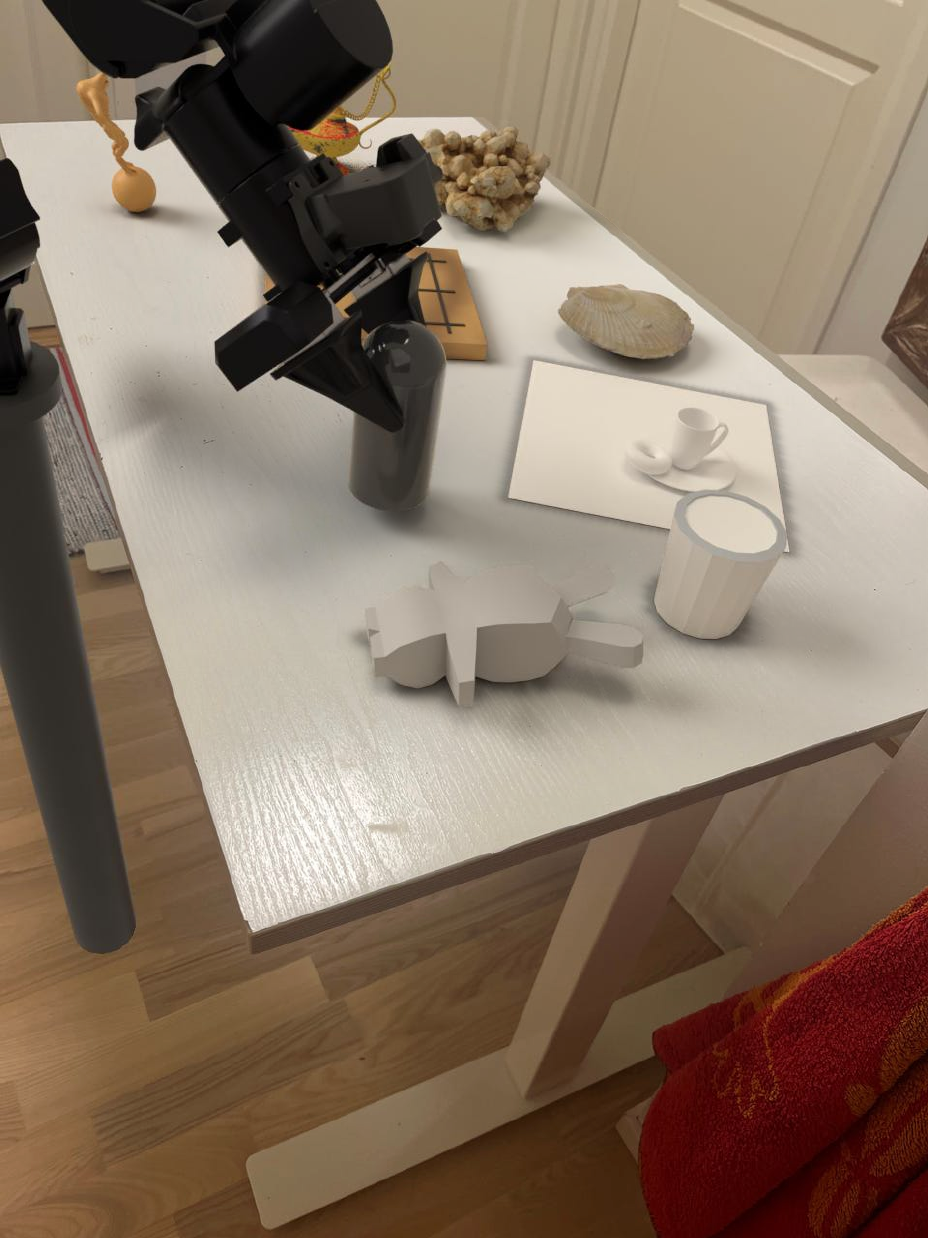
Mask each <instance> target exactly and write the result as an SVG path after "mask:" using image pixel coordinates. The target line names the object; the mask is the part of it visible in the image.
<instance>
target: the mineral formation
mask: <svg viewBox="0 0 928 1238" xmlns="http://www.w3.org/2000/svg"><path fill="white" fill-rule="evenodd" d="M518 136H519V129H518V128H517V126H510V125H508V126H506V127H505V128H503V129H502V131H501V132H500V134H497V133H496V131H493V130H488V129H486V130H485V131H483V132H481V133H480V136H477V135H475V134H470V135H467V136H464V137H462V136H461V134H460V133H459V132H458V131H455V130H450V131H448V132H447V133H446V134H444V133H443V132H442V131H441V129H438V128H429V129H428V130H426V131H425V133H424V135H423V138H421V139H417V138H416V139H417V140H418V141H419V143H420V144H421V145H422V147H423V148H424V149H425V150H426V152H427V153H428V152H430V154H431V158H432V161H433V163H434V165H438V166H439V167H440V168H441V169H442V171H443V178H442V180H441V181H440V182H438V183H437V184H436V186H435V192H436V195H437V199H438V203H439V206H443V205H445V210H446V214H447V215H448V216H450V217H460V218H461V220H462V221H463V222H464V223H465V224H470V226H472V227H473V228H475V230H478V231H481V232H485V231H486V230H493V228H494V227H496V228H497V230H499V231H500V232H502V233H506V232H509V231H510V230H511V229H512V228H513V227H514V223H515V222H517V220H518V219H519V217H522V216H523V215H524V214H526V213H527V212H529V211H530V210H531V209H532V207H533V205H534V203H535V197H536V196H538V195H539V191H540V190H541V188H542V186H541V181H542V180H543V178H544V176H545V174H546V172H547V170H548V169H549V167H551V165H552V164H551V157H550V156H549V155H548V154H547V153H545V152H538V151H535V152H534V153H532V152H531V151H530V149H529V144H528V142H527V143H526V142H524V141H522V140H521V141H518V140H517V139H518Z"/></svg>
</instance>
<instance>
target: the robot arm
mask: <svg viewBox="0 0 928 1238" xmlns="http://www.w3.org/2000/svg"><path fill="white" fill-rule="evenodd" d="M41 2H42V4H43V5H44V6H45V8H46V9H47V10H48V12H49V13H50V15H51V16H52V17H53V19H54V20H55V21H56V22H57V23H58V25H59V26H60V28H62V30H63V31H64V33H65V34H66V35H67V36H68V38H69V39H70V40H71V42H72V43H73V44H74V45H75V47H76V48H77V49H78V51H79V52H80V53H81V55H82V56H83V57H84V58H85V59H86V60H87V61H88V62H89V64H90V65H91V66H93V67H94V68H95V69H97V71H99V72H100V73H101V72H102V73H103V74H105V75H107V77H108V78H109V77H110V78H112V79H114V80H115V79H121V80H122V79H127V80H128V79H130V80H131V79H139V78H142V77H144V76H147V75H150V74H152V73H155V72H158V71H161V70H163V69H166V68H169V67H172V66H175V65H177V64H180V63H182V62H186V61H188V60H191V59H193V58H196V57H197V56H199V55H201V54H204V53H207V52H209V51H213V50H215V49H218V48H220V50H221V51H222V53H223V55H224V56H223V57H222V58H221V59H220V60H219V61H218V62H217V63H216V64H214V65H212V64H209V63H194V64H192V65H190V66H187V67H186V68H185V69H184V70H183V72H182V73H180V75H178V76H177V77H176V78H175V80H174V81H173V82H172V83H171V84H170V85H169V86H168V87H167V88H164V87H161V86H154V87H153V88H149V89H148V90H146V91H143V92H140V93H137V94H136V95H135V96H134V103H135V109H136V117H135V118H136V119H135V123H134V128H133V144H134V146H135V148H136V150H138V151H140V152H144V151H147V150H148V149H151V148H153V147H155V146H157V145H159V144H162V143H163V142H165V141H168V140H170V141H171V142H172V144H173V145H174V146H175V148H176V150H177V151H178V152H179V154H180V155H181V157H182V158H183V159H184V161H185V162H186V164H187V165H188V166H189V168H190V169H191V170H192V172H193V174H194V175H195V176H196V178H197V180H198V181H199V182H200V184H201V185H202V186H203V188H204V189H205V190H206V193H208V195H209V196H210V197H211V199H212V200H213V201H214V203H215V204H216V205H217V207H218V209H219V210H220V212H221V213H222V214H223V216H224V217H225V219H226V220H227V221H228V222H226V224H224V225H223V226H222V227H221V228H219V230H217V231H216V233H217V234H218V235H219V237H220V238H221V240H222V241H223V243H224V244H225V245H226V246H227V248H230V247H232V246H233V245H234V244H236V243H238V242H239V241H242V242H243V244H244V245H245V246H246V249H248V251H249V252H250V254H251V255H252V256H253V258H254V259H255V261H256V262H257V264H258V265H259V266H260V268H261V269H262V270H263V272H264V274H265V273H266V274H267V276H268V277H269V279H270V280H271V281H272V283H273V284H274V287H273V288H272V289H270V290H269V291H268V292H266V293H265V292H264V293H263V294H262V297H263V298H264V300H265V299H266V301H267V303H266V304H265V303H264V304H262V306H260V307H258V308H257V309H256V310H254V311H253V312H252V313H250V314H248V316H246V317H245V318H243V319H242V320H240V321H239V322H238V323H237V324H235V325H234V326H233V327H232V328H230V329H229V330H228V331H226V332H225V333H223V334H222V335H221V336H219V337H218V338H217V339H216V340H215V341H214V342H213V343H214V346H213V347H214V364H215V365H216V366H217V368H218V369H219V370H220V372H221V373H222V374H223V376H224V377H225V378H226V380H227V381H228V382H229V383H230V386H232V388H233V389H234V390H235V391H236V393H237V392H240V391H241V390H243V389H244V388H246V387H247V386H249V385H250V384H252V383H253V382H255V381H256V380H258V379H260V378H261V377H263V376H264V375H266V374H267V373H269V376H270V377H271V378H272V379H273V380H274V381H279V380H280V379H282V378H285V379H288V380H289V381H292V382H294V383H295V384H298V385H300V386H302V387H304V388H306V389H309V390H311V391H314V392H316V393H317V394H320V395H321V396H324V397H325V398H328V399H329V400H331V401H334V402H335V403H337V404H339V405H341V406H343V407H344V408H346V409H348V410H349V411H352V413H353V412H355V413H357V414H358V415H360V416H362V417H364V418H366V419H367V420H369V421H371V422H373V423H374V424H376V425H378V426H380V427H381V428H383V429H385V430H387V431H389V432H391V433H394V432H396V431H398V430H400V429H402V428H403V427H404V426H405V420H404V418H403V416H402V414H401V412H400V410H399V408H398V406H397V404H396V402H395V400H394V399H393V397H392V395H391V394H390V392H389V390H388V389H387V387H386V385H385V384H384V382H383V380H382V379H381V377H380V375H379V374H378V372H377V370H376V369H375V367H374V365H373V364H372V362H371V360H370V359H369V357H368V355H367V354H366V352H365V350H364V349H363V347H362V343H361V335H362V329H363V330H364V331H365V332H366V333H367V334H368V333H369V332H370V331H371V330H372V329H374V328H375V327H376V326H378V325H380V324H381V323H383V322H386V321H389V320H393V319H409V320H413V321H416V322H419V323H421V324H423V325H424V326H426V323H425V319H424V316H423V312H422V307H421V303H420V299H419V293H418V290H419V284H420V280H421V275H422V271H423V267H424V264H425V263H426V262H427V259H428V253H427V251H425V252H424V253H422V254H421V255H419V256H418V257H416V258H415V259H413V260H412V261H410V260H409V258H408V257H407V255H406V253H408V252H409V251H411V250H412V249H414V248H415V247H423V245H425V244H426V243H428V242H429V241H430V240H431V239H433V238H434V237H435V236H436V235H437V234H438V233H439V232H440V231H442V230H443V227H442V226H441V224H440V222H439V220H440V219H441V218H442V216H443V214H442V210H441V207H440V206H441V205H440V206H439V203H438V199H437V195H436V192H435V186H436V184H437V183H438V182H440V181H441V180H442V178H443V171H442V169H441V168H440V167H439V166H438V165H434V163H433V161H432V158H431V154H430V152H428V153H427V152H426V150H425V149H424V148H423V147H422V145H421V144H420V143H419V141H418V140H419V139H418V140H417V137H416V136H415V135H414V133H412V132H411V133H408V134H403V135H399V136H394V137H392V138H390V139H388V140H386V141H385V142H383V143H381V144H380V145H379V146H378V148H377V153H376V162H375V165H374V164H371V165H368V166H366V167H364V168H363V169H361V170H359V171H355V172H351V173H349V174H347V175H344V174H343V173H342V172H341V171H340V169H339V168H338V166H337V164H336V163H335V161H334V160H333V159H332V158H330V157H326V156H325V154H324V153H323V154H321V155H319V156H318V157H316V156H315V157H314V158H313V159H310V158H309V156H308V155H307V153H306V151H305V150H303V149H302V147H301V146H300V145H299V143H298V141H297V140H296V138H295V137H294V135H293V134H292V132H291V131H290V129H289V128H288V126H289V127H291V128H293V129H297V130H301V131H307V130H312V129H314V128H315V127H316V126H317V125H319V124H320V123H321V122H322V121H323V120H324V119H326V118H327V117H328V116H329V115H330V114H331V113H333V112H334V111H335V110H336V109H337V108H338V107H340V106H342V105H343V104H344V103H346V102H347V101H349V99H351V97H353V96H354V95H355V94H356V93H357V92H358V91H360V90H361V89H362V88H363V87H364V86H365V85H366V84H368V83H369V82H370V81H372V80H373V79H375V78H376V75H378V74H380V72H381V71H382V70H383V69H384V68H385V67H386V66H387V65H388V64H389V63H390V62H392V59H393V54H394V45H393V43H394V42H393V37H392V34H391V29H390V27H389V24H388V22H387V19H386V16H385V14H384V13H383V10H382V8H381V6H380V5H379V3H378V1H377V0H41ZM21 177H22V176H21V173H20V171H19V169H18V167H17V166H16V165H15V163H14V162H13V161H12V159H10V158H8V157H5V158H1V159H0V395H5V396H13V395H16V394H18V392H19V389H20V386H21V383H22V380H23V377H24V376H26V375H27V374H28V371H29V368H30V365H31V361H32V358H33V356H32V351H31V345H30V341H31V340H30V335H29V329H28V323H27V319H26V313H25V311H24V309H23V308H21V307H16V303H15V298H14V292H13V288H15V287H17V286H19V285H24V284H25V283H28V282H29V280H30V279H29V278H30V273H31V272H30V271H31V267H32V264H33V263H34V262H35V260H36V256H37V253H38V250H39V249H40V248H41V240H40V239H41V238H40V233H39V230H38V226H37V224H36V222H38V221H41V216H40V215H39V214H38V213H39V212H37V210H36V209H35V208H34V207H33V205H32V203H31V201H30V199H29V197H28V196H27V193H26V190H25V188H24V184H23V180H22V178H21ZM337 271H338V272H337ZM319 284H321V285H322V286H323V288H322V289H320V287H317V286H318V285H319ZM349 292H351V294H352V295H353V297H354V298H355V300H354V301H353V302H352V303H351V304H350V305H349V306H347V307H346V308H345V309H344V311H345V313H346V314H347V315H348V316H350V317H348V318H347V319H345V318H344V317H343V315H342V314H341V312H340V311H339V310H338V308H337V307H336V305H335V304H336V303H338V302H339V301H340V300H341V299H342V298H343V297H345V296H346V295H347V294H348V293H349ZM426 327H427V326H426ZM270 371H271V372H270Z"/></svg>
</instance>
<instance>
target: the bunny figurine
mask: <svg viewBox="0 0 928 1238" xmlns="http://www.w3.org/2000/svg"><path fill="white" fill-rule="evenodd" d="M616 582H617V577H616V573H615V572H614V571H613V570H612V569H611V568H610V567H609V566H607V565H604V564H600V563H595V564H592V565H589V566H587V567H585V568H583V569H581V570H580V571H577V572H576V573H575V574H572V575H571V576H569V577H568V578H565V579H564V580H562V581H561V582H559V583H558V584H555V585H554V586H551V585H550V584H549V583H548V582H547V581H546V580H545V579H544V578H543V577H542V576H541V575H540V574H539V573H538V572H537V571H536V570H535V569H534V568H533V566H531V565H530V564H509V565H502V566H495V567H492V568H489V569H485V570H481V571H479V572H478V573H476V574H474V575H473V576H471V577H469V578H468V579H466V580H464V581H463V579H461V578H460V577H459V576H458V575H456V573H455V572H453V571H452V570H451V569H450V568H449V567H448V566H447V565H446V564H445V563H444V562H443V561H439V562H437V563H433V564H429V565H428V587H426V586H422V585H418V584H416V585H405V586H402V587H400V588H398V589H396V590H394V591H393V592H391V593H389V594H388V595H387V596H386V597H384V598H383V599H382V600H381V601H380V602H379V603H378V604H377V605H376V606H373V607H367V608H364V616H365V628H366V634H367V638H368V639H367V640H368V645H369V648H370V657H371V662H372V667H373V674H374V678H377V677H388V678H389V679H390V680H392V681H394V682H396V683H398V684H399V685H401V686H405V687H409V688H413V689H421V688H425V687H429V686H432V685H433V684H435V683H437V682H438V681H439V680H441V679H442V678H444V677H445V678H446V680H447V684H448V685H449V687H450V690H451V692H452V695H453V697H454V700H455V702H456V704H457V707H465V708H468V707H469V708H473V707H474V703H475V702H474V701H475V689H476V677H477V678H479V679H482V680H486V681H489V682H492V683H517V682H525V681H530V680H534V679H538V678H542V677H545V676H546V675H547V674H549V672H550V671H552V669H554V668H555V667H556V666H557V665H558V664H559V663H560V662H561V661H562V660H563V659H564V658H565V657H567V655H568V654H570V655H575V656H578V657H581V658H584V659H588V660H591V661H595V662H598V663H602V664H605V665H608V666H612V667H616V668H619V669H635V668H636V667H638V666H639V665H641V664H642V663H643V659H644V635H643V634H642V633H641V631H640V630H638V629H637V628H636V627H635V626H630V625H627V624H622V623H614V622H613V623H611V622H601V621H588V620H577V619H574V616H573V614H572V612H571V611H570V609H569V607H572V606H574V605H577V604H580V603H583V602H586V601H589V600H591V599H595V598H596V597H599V596H602V595H604V594H607V593H608V592H610V591H611V590H612V589H613V588H614V587H615V586H616Z"/></svg>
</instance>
